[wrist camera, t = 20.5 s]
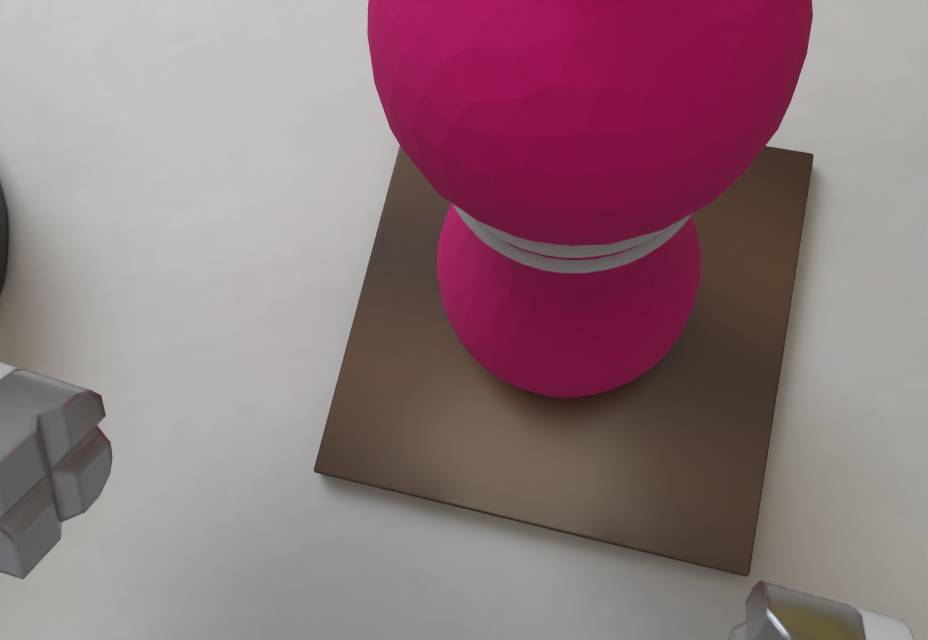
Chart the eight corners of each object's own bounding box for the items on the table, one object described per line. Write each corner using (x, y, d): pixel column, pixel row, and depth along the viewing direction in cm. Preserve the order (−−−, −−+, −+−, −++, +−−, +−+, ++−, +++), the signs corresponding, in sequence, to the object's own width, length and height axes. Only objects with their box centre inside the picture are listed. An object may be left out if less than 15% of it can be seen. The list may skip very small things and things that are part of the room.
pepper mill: (716, 353, 26) (1217, -111, 6) (513, 452, 26) (399, 288, 6) (610, 168, 28) (751, -634, 8) (421, 260, 28) (112, -325, 8)
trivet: (744, 575, 25) (749, 577, 24) (317, 472, 27) (312, 472, 26) (808, 160, 27) (814, 153, 27) (417, 96, 30) (414, 88, 29)
